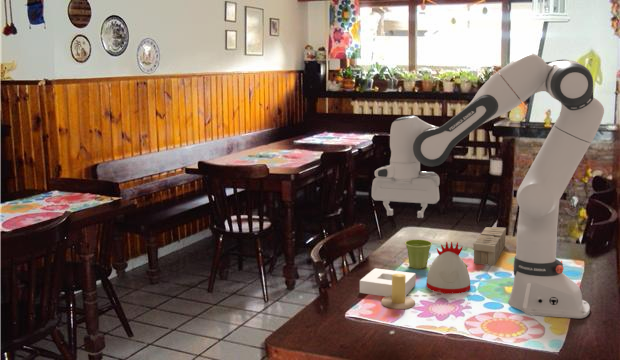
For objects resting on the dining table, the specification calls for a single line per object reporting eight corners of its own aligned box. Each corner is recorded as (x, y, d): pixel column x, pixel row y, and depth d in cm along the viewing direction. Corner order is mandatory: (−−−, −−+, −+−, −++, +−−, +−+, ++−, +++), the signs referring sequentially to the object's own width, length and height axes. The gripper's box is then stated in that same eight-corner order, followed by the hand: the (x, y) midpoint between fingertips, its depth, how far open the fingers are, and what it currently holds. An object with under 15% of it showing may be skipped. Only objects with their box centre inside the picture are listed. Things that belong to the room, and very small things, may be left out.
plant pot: (433, 270, 227) (434, 246, 226) (406, 270, 227) (406, 246, 226) (429, 262, 236) (429, 239, 235) (403, 262, 236) (403, 239, 235)
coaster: (419, 300, 198) (419, 298, 198) (409, 311, 189) (409, 309, 189) (387, 295, 202) (387, 293, 202) (376, 306, 194) (376, 304, 193)
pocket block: (415, 285, 212) (415, 273, 211) (402, 298, 199) (402, 286, 199) (374, 279, 218) (374, 268, 217) (359, 292, 205) (359, 280, 205)
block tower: (485, 246, 260) (471, 264, 233) (486, 226, 259) (472, 241, 232) (505, 248, 257) (494, 267, 230) (506, 227, 255) (495, 243, 229)
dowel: (406, 300, 197) (407, 274, 195) (402, 304, 193) (403, 278, 192) (394, 298, 198) (394, 272, 197) (390, 302, 195) (390, 276, 193)
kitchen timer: (471, 295, 202) (472, 248, 200) (426, 292, 205) (426, 246, 202) (469, 280, 216) (470, 237, 213) (427, 278, 218) (427, 235, 216)
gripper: (442, 170, 192) (441, 216, 194) (376, 167, 200) (376, 211, 202) (437, 173, 186) (436, 221, 188) (369, 171, 195) (369, 216, 197)
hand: (405, 216), depth 195 cm, fingers open, 8 cm apart
